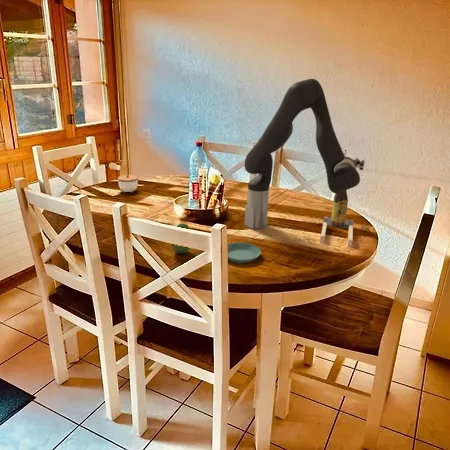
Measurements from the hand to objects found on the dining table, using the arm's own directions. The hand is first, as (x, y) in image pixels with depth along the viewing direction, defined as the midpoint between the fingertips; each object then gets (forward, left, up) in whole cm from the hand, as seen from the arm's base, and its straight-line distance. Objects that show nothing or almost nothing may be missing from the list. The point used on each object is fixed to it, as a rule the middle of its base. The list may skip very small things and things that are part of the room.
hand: (345, 159), depth 170 cm
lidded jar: (-51, +103, -32) cm, 119 cm away
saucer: (-49, +4, -33) cm, 59 cm away
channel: (-3, -3, -32) cm, 32 cm away
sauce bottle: (+7, +5, -32) cm, 33 cm away
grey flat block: (+9, +7, -32) cm, 34 cm away
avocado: (-66, +19, -32) cm, 76 cm away
